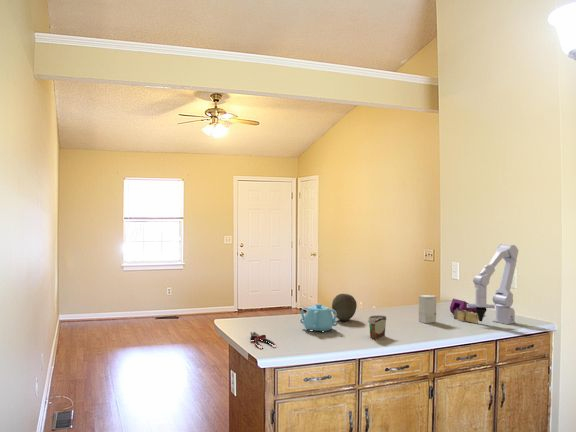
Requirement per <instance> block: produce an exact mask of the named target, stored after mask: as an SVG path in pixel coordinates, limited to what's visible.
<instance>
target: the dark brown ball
mask: <svg viewBox="0 0 576 432" xmlns="http://www.w3.org/2000/svg"><path fill="white" fill-rule="evenodd" d="M331 309H333V310H335V311H336V312H337V316H336V319H338V320H339V321H342V322H347V321H349V320H350V319H352V318H353V317H354V316H355V314H356V312H357V300H356V299H355V297H354V296H353V295H351V294H348V293H339V294H338V295H336V296H334V298H333V299H332V302H331ZM332 315H334V316H335V313H334V312H333V311H332Z"/></svg>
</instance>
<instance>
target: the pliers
mask: <svg viewBox="0 0 576 432" xmlns="http://www.w3.org/2000/svg"><path fill="white" fill-rule="evenodd" d="M258 338H259V339H261V340H264V341H267V342H269V343H271V344H273V345H276V343H274V342H273V341H272V340H270V339H268V338H267V336H266V334H261V335H260V334H258V333H257V332H256V331H253V332H252V331H251V332H250V340H254V341H255V343H256V344H257V345H260V346H262V345H261V344H260V343H259V339H258ZM255 343H254V344H255Z"/></svg>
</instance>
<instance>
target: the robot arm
mask: <svg viewBox="0 0 576 432" xmlns="http://www.w3.org/2000/svg"><path fill="white" fill-rule="evenodd" d="M518 255H519V249H518V247H517V246H516V245H515V244H505V243H504V244H503V243H500V244H498V245H497V247H496V248H495V253H494V255H493V257H492V258H491V260H490V262H489V263H487V264H485V265H484V266H483V268H482V269H481V271H480V272H479V273H478V274H476V275H475V276H474V277H473V279H472V282H473V284H474V288H475V300H474V301H475V302H474V303H469V304H467V308H475V309H476V311H477V314H478V322H483V319H484V316H485V314H486V312H487V310H488V309H493V310H495V319H492V322H495V323H500V324H505V325H511V324H514V322H515V323H516V321H515V319H516V318H515V315H516V314H515V309H514V308H513V307H512V305H513V303H514V293H512V291H511V288H512V284H513V279H514V274H515V270H516V266H517V262H518V261H517V259H518ZM502 260H504V262H505V264H504V268H503V273H502V277H501V282H500V286H499V288H498V289H496V290H495V291H494V295H493V297H492V302H493V304H490V303H487V287H488V285H489V284H490V280H491V277H492V275H494V272H495V271H496V269H495V267H496V266H497V265H499V263H500V262H501V261H502Z"/></svg>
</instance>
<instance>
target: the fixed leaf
mask: <svg viewBox="0 0 576 432" xmlns="http://www.w3.org/2000/svg"><path fill="white" fill-rule="evenodd" d="M457 311H459V310H454V314H453V319H454V320H457ZM461 312H467V310H461ZM463 322H466V321H465V313H464V321H463Z"/></svg>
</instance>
